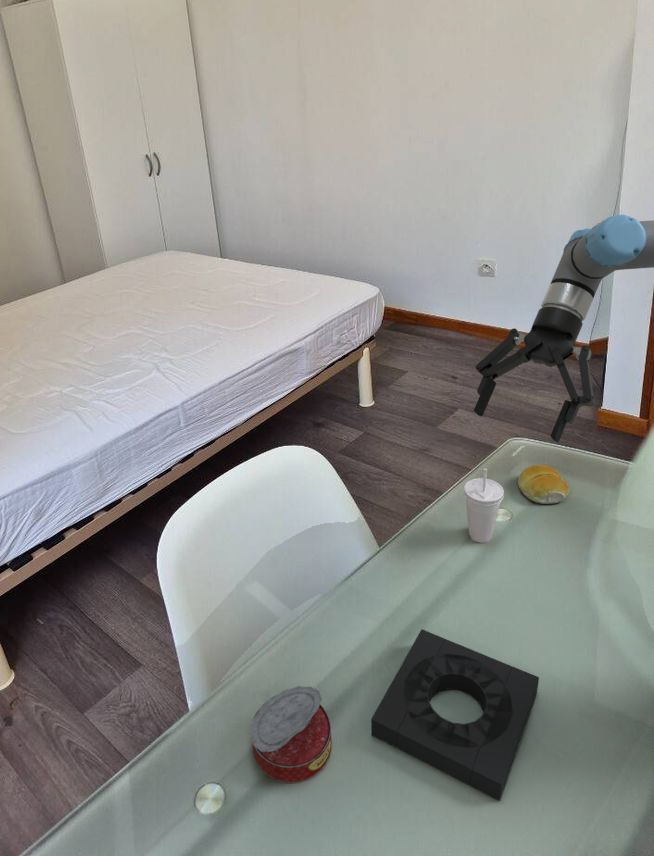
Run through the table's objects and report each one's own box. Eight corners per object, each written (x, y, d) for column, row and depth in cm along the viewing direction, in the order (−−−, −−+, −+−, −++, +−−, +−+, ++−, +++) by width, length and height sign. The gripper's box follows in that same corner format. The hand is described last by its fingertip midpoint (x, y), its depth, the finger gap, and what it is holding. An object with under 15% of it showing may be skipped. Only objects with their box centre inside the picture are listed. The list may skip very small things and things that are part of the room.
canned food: (283, 808, 83) (240, 781, 77) (262, 729, 91) (222, 700, 86) (361, 759, 82) (324, 729, 77) (333, 684, 91) (297, 652, 85)
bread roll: (553, 474, 130) (556, 456, 129) (573, 503, 122) (576, 485, 121) (510, 477, 130) (512, 459, 129) (527, 507, 122) (529, 488, 121)
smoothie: (460, 546, 115) (464, 477, 109) (461, 521, 120) (464, 454, 114) (501, 550, 113) (507, 480, 107) (499, 524, 119) (505, 457, 113)
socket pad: (537, 693, 89) (539, 677, 88) (499, 801, 78) (501, 784, 76) (421, 644, 98) (421, 628, 96) (371, 735, 86) (371, 719, 84)
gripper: (641, 340, 114) (594, 457, 111) (500, 309, 130) (456, 410, 127) (634, 321, 108) (585, 444, 105) (488, 291, 124) (441, 397, 121)
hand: (514, 426), depth 116 cm, fingers open, 13 cm apart
